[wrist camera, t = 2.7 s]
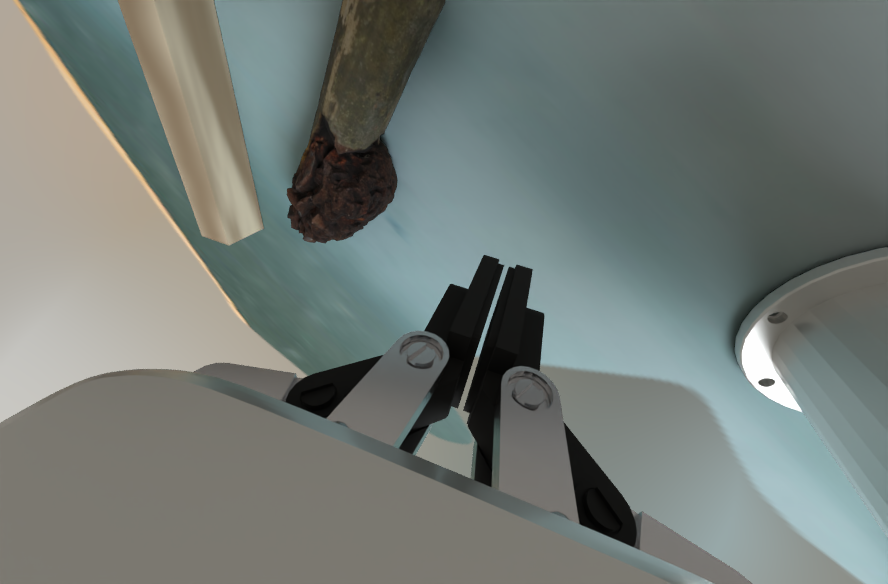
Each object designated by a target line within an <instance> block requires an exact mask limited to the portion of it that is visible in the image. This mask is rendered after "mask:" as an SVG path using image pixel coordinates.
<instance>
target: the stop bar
mask: <svg viewBox="0 0 888 584" xmlns="http://www.w3.org/2000/svg"><path fill="white" fill-rule="evenodd" d="M118 2H119V5H120V8H121V11H122V14H123V16H124V19H125V22H126V25H127V28H128V30H129V33H130V36H131V39H132V42H133V44H134V47H135V50H136V53H137V56H138V58H139V61H140V64H141V67H142V69H143V72H144V75H145V78H146V81H147V83H148V86H149V89H150V92H151V95H152V97H153V100H154V103H155V106H156V109H157V111H158V114H159V117H160V120H161V123H162V125H163V128H164V131H165V134H166V136H167V139H168V142H169V145H170V148H171V150H172V153H173V156H174V159H175V162H176V164H177V167H178V170H179V173H180V176H181V178H182V181H183V184H184V187H185V190H186V192H187V195H188V198H189V201H190V203H191V206H192V209H193V212H194V215H195V217H196V220H197V223H198V226H199V229H200V231H201V234H202V236H204V237H207V238H210V239H212V240H215V241H218V242H221V243H223V244H226V245H231V244H233V243H235V242H237V241H239V240H241V239H243V238H245V237H247V236H249V235H251V234H253V233H255V232H257V231H260V230H262V229H264V227H263V223H262V218H261V213H260V209H259V204H258V200H257V195H256V191H255V186H254V182H253V177H252V172H251V168H250V163H249V159H248V154H247V150H246V145H245V141H244V136H243V131H242V127H241V122H240V118H239V113H238V109H237V104H236V100H235V95H234V90H233V86H232V81H231V77H230V72H229V68H228V63H227V59H226V54H225V49H224V45H223V40H222V36H221V31H220V27H219V22H218V18H217V13H216V8H215V4H214V0H118Z"/></svg>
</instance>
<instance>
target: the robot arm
mask: <svg viewBox="0 0 888 584" xmlns="http://www.w3.org/2000/svg"><path fill="white" fill-rule="evenodd" d="M498 262H499V259H496V258H493V257H490V256H486V255H484V256H483V258H482V260H481V262H480V264H479V267H478V269H477V271H476V273H475V275H474V278H473V280H472V282H471V284H470V286H469V289H466V288H463V287H460V286H457V285H453V284H450V285H449V287H448V289H447V290H446V292H445V294H444V296H443V298H442V300H441V301H440V303H439V305H438V307H437V309H436V311H435V312H434V314H433V316H432V318H431V320H430V321H429V323H428V325H427V327H426V329H425V331H413V332H409V333H407V334H404V335H403V336H401V337H400V338H399V339H398V340H397V341H396V342H395V343H394V344H393V345H392V346H391V348H390V349H389V350H388V351H387V352H386V353H385V354H384V355H381V356H378V357H374V358H370V359H367V360H363V361H359V362H356V363H352V364H348V365H345V366H341V367H337V368H334V369H330V370H326V371H322V372H319V373H315V374H312V375H310V376H307V377H305V378H297V376H296V373H290V372H283V371H276V370H270V369H263V368H257V367H250V366H244V365H237V364H230V363H215V364H210V365H207V366H204V367H202V368H200V369H198V370H196V371H194V372H187V371H181V370H168V369H136V370H124V371H117V372H110V373H105V374H101V375H97V376H93V377H90V378H87V379H84V380H82V381H79V382H77V383H74V384H72V385H70V386H68V387H66V388H64V389H61V390H59V391H57V392H55V393H53V394H51V395H49V396H48V397H46V398H44V399H42V400H40V401H38V402H36V403H35V404H33V405H31V406H29V407H27V408H26V409H24V410H22V411H20V412H19V413H17V414H15V415H13V416H11V417H10V418H8V419H6V420H4V421H3V422H1V423H0V584H752V583H751V582H750V581H749V580H747V579H746V578H745V577H744V576H742V575H741V574H740V573H739V572H737V571H736V570H734V569H733V568H731V567H730V566H728V565H727V564H725V563H723V562H722V561H720V560H718V559H717V558H715V557H714V556H712V555H711V554H709V553H708V552H706V551H704V550H703V549H701V548H700V547H698V546H696V545H695V544H693V543H692V542H690V541H688V540H687V539H685V538H684V537H682V536H681V535H679V534H677V533H676V532H674V531H673V530H671V529H670V528H668V527H666V526H665V525H663V524H662V523H660V522H658V521H657V520H655V519H654V518H652V517H651V516H649V515H647V514H646V513H644V512H643V511H642V512H640V513H639V514H637V513H636V512H634V511H633V510H631V509H630V507H629V505H628V503H627V502H626V501H625V499H624V497H623V496H622V494H621V493H620V492H619V491H618V489H617V488H616V487H615V486H614V484H613V483H612V482H611V481H610V480H609V479H608V477H607V476H606V474H605V473H604V472H603V471H602V470H601V468H600V467H599V466H598V464H597V463H596V462H595V461H594V459H593V458H592V457H591V456H590V454H589V453H588V452H587V451H586V449H585V448H584V447H583V446H582V444H581V443H580V442H579V441H578V439H577V438H576V437H575V436H574V434H573V433H572V432H571V431H570V429H569V428H568V427H567V426H566V424H565V423H564V421H563V415H562V408H561V403H560V396H559V393H558V390H557V388H556V386H555V385H554V383H553V382H552V381H551V380H550V379H549V378H548V377H547V376H546V375H545V374H543V373H541V372H540V360H541V348H542V337H543V326H544V313H542V312H538V311H535V310H532V309H529V308H526V306H527V300H528V294H529V288H530V282H531V277H532V270H533V269H530V268H526V267H523V266H520V265H516V267H515V268H511V267H509V268H508V271H507V274H506V277H505V280H504V283H503V286H502V289H501V292H500V295H499V298H498V301H497V304H496V307H495V310H494V313H493V316H492V319H491V322H490V325H489V328H488V331H487V334H486V337H485V341H484V344H483V347H482V351H481V354H480V357H479V360H478V364H477V367H476V370H475V374H474V377H473V380H472V384H471V387H470V390H469V393H468V397H467V400H466V403H465V406H464V410H463V411H466V412H469V413H470V414H469V417H468V421H467V424H468V428H469V429H470V431H471V433H472V435H473V437H474V438H475V442H474V446H473V457H472V468H471V479H470V478H468V477H465V476H463V475H461V474H458V473H456V472H453V471H451V470H449V469H446V468H443V467H441V466H439V465H437V464H434V463H431V462H429V461H427V460H424V459H422V458H420V457H417V456H415V455H416V454H417V452H418V450H419V448H420V447H421V445H422V443H423V441H424V440H425V438H426V436H427V434H428V433H429V431H430V429H431V426H432V424H433V423H435V422H437V421H440V420H442V419H445V418H446V417H447V416H448V414H449V411H450V408H451V406H453V407H455V408H458V406H459V403H460V400H461V397H462V394H463V391H464V388H465V385H466V382H467V379H468V375H469V372H470V369H471V366H472V363H473V360H474V357H475V354H476V351H477V348H478V345H479V342H480V338H481V335H482V332H483V329H484V326H485V323H486V320H487V317H488V314H489V311H490V307H491V304H492V301H493V298H494V295H495V292H496V289H497V286H498V283H499V280H500V276H501V273H502V270H503V267H504V265H501V264H498ZM735 354H736V358H737V362H738V364H739V366H740V368H741V370H742V372H743V373H744V375H745V377H746V378H747V380H748V381H749V382H750V384H751V385H752V386H753V387H754V388H755V389H756V390H758V391H759V392H760V393H762V394H763V395H764V396H766V397H767V398H769V399H771V400H773V401H775V402H777V403H779V404H781V405H783V406H786V407H789V408H791V409H794V410H797V411H800V412H803V413H804V415H805V416H806V418H807V419H808V421H809V422H810V424H811V425H812V427H813V428H814V430H815V431H816V433H817V434H818V436H819V437H820V438H821V440H822V441H823V443H824V444H825V446H826V447H827V449H828V450H829V452H830V453H831V455H832V456H833V458H834V459H835V461H836V462H837V464H838V465H839V467H840V468H841V470H842V471H843V473H844V474H845V475H846V477H847V478H848V480H849V481H850V483H851V484H852V486H853V487H854V489H855V490H856V492H857V493H858V495H859V496H860V498H861V499H862V501H863V502H864V504H865V505H866V507H867V508H868V510H869V511H870V512H871V514H872V515H873V517H874V518H875V520H876V521H877V523H878V524H879V526H880V527H881V529H882V530H883V532H884V533H885V535H886V536H887V538H888V247H885V248H879V249H875V250H871V251H867V252H863V253H859V254H855V255H851V256H847V257H844V258H841V259H838V260H835V261H833V262H830V263H827V264H824V265H822V266H819V267H816V268H814V269H812V270H810V271H808V272H806V273H804V274H802V275H800V276H798V277H796V278H794V279H792V280H790V281H788V282H786V283H785V284H783V285H782V286H780V287H779V288H777V289H776V290H774V291H773V292H771V293H770V294H768V295H767V296H766V297H765V298H764V299H763V300H762V301H761V302H760V303H758V304H757V305H756V306H755V307H754V308H753V309H752V310H751V312H750V313H749V314H748V316H747V317H746V318H745V320H744V321H743V322H742V324H741V326H740V329H739V331H738V334H737V336H736V342H735Z"/></svg>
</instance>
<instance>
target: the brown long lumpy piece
mask: <svg viewBox="0 0 888 584" xmlns="http://www.w3.org/2000/svg"><path fill="white" fill-rule="evenodd" d="M444 4H445V0H343V2H342V6H341V10H340V15H339V19H338V24H337V28H336V32H335V36H334V40H333V44H332V48H331V53H330V57H329V61H328V65H327V70H326V74H325V78H324V82H323V86H322V90H321V94H320V99H319V105H318V109H317V112H316V115H315V119H314V123H313V127H312V131H311V136H310V140H309V143H308V147H307V148H306V150H305V152H304V154H303V156H302V159H301V162H300V165H299V167H298V170H297V172H296V173H295V174H294V177H293V180H292V183H293V185H292V188H288V189H287V196H288V198H289V201H290V202H291V204H292V205H291V206H290V208H289V213H288V218H290V219H291V228H293V229H295V230H299V233H302V234H303V236H304V237H303V239H304V241H307V242H313V243H315V242H316V241H318V242H321V243H326V242H327V241H330V240H336V241H339V240H344V239H347V238H349V237H351V236H353V234H354V233H355V232H357V231H358V230H361V229H363V226H365V225H367V224H368V222H369V221H371V220H373V219H375V218H376V217H377V216H378V215H379V214H381V213H382V212H384V211H385V210H386V208H387V205H388V204H389V203H391V202H392V200H393V198H394V193H395V190H396V188H397V176H396V172H395V169H394V167H393V164H392V160H391V156H390V155H389V153H388V149H387V147H386V146H385V145H384V143H382V142H381V141H380V135H381V134H384V132H385V130H386V128H387V126H388V124H389V122H390V119H391V117H392V115H393V113H394V110H395V108H396V106H397V104H398V101H399V99H400V97H401V95H402V92H403V90H404V88H405V86H406V83H407V81H408V78H409V76H410V74H411V71H412V70H413V68H414V66H415V64H416V62H417V60H418V58H419V56H420V54H421V52H422V49H423V47H424V45H425V43H426V41H427V39H428V37H429V35H430V32H431V30H432V28H433V26H434V24H435V22H436V20H437V18H438V16H439V14H440V12H441V10H442V8H443V6H444Z"/></svg>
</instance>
